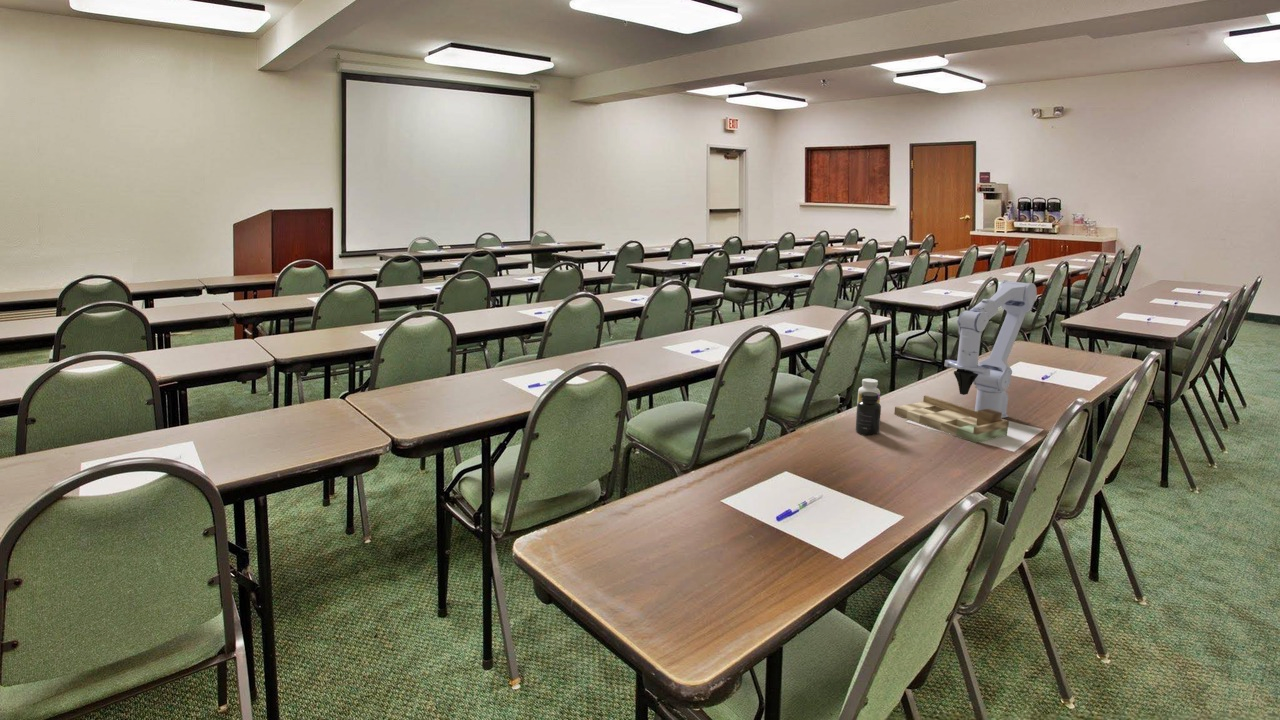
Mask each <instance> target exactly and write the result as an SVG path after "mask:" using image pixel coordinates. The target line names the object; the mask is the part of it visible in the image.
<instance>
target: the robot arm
mask: <svg viewBox="0 0 1280 720" xmlns="http://www.w3.org/2000/svg"><path fill="white" fill-rule="evenodd" d="M1037 290H1038V289H1037V286H1036V284H1035V283H1032V282H1030V283H1029V282H1019V281H1017V282H1016V281H1009V280H1003V281H1001V282H1000V283H999V284H998V286H997V290H996V292H995V293H994V294H993V295H992V296H991V297H990V298H983V299H982V300H981V301H980V302H979V303H977V304H976V305H975V306H973V307H972V308H970V309H969V310H966V309H965V310H964V311H962V312H961V313H960V314H959V316H958V318H957V321H956V322H957V323H956V324H957V325H956V326H957V328H958V335H959V342H958V348H957V349H958V351H957V358H956V359H957V360H952V359H945V360H944V367H946V368H948V367H949V368H952V369H956V370H955V371H953V374H954V376H955V379H956V381H957V385H958V390H959V391H958V392H959V394H960V395H962V396H965V395H969V391H970V390H971V389H970V388H971V386H972V385H975V386H974V387H975V389H977V390H976V396H975V397H976V398H975V403H974V404H975V406H974V410H975V411H978V410H983V409H991V410H995V411H998V412H1001V413H1002V415H1001V419H1004V418H1008V417H1009V414H1007V411H1008V404H1009V403H1008V402H1009V395H1008V391H1006V390H1007V389H1008V388H1009V386H1010V384H1011V380H1012V374H1013V370H1012V368H1011V366H1010V365H1009V364H1008V363H1007V361H1008V359H1009V357H1010V354H1011V352H1012V349H1013V347H1014V344H1015V341H1016V339H1017V337H1018V334H1019V331H1020V329H1021V326H1022V324H1023V322H1024V319H1025V317H1026V315H1027V314H1028V313H1030V312H1031V311H1032V308H1033V306H1034V304H1035V302H1036V298H1037V295H1038V294H1037V293H1038V292H1037ZM1000 307H1001V308H1002V309H1003V310H1005V311H1006V314H1005V317H1004V321H1003V323H1002V324H1001V325H1002V326H1001V328H1000V330H999V333H998V335H997V337H996V340H995V343H994V345H993V347H992V350H991V353H990V355H989V357H988V358H985V359H982V360H980V361H979V358H980V357H979V355H980V347H981V339H982V338H981V337H982V332H983V331H984V330H985V329H986V327H987V325H988V323H989V320H991V319H992V318H993V317H994V316H995V315H997V314H998V312H999V308H1000Z"/></svg>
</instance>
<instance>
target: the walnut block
mask: <svg viewBox="0 0 1280 720" xmlns="http://www.w3.org/2000/svg"><path fill="white" fill-rule="evenodd" d="M1001 415H1002V413H1001V412H998V411H995V410H991V409H983V410H978V415H977V424H976V425H978V426H980V425H985V424H989V423H994V422H998V421H1001V419H1002V418H1001Z"/></svg>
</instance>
